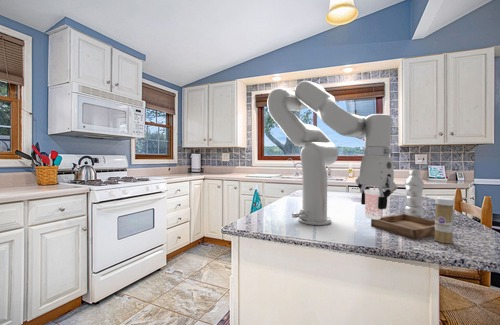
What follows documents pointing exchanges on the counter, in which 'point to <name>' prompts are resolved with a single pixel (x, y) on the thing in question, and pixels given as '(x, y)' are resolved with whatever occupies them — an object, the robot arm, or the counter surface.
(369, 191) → the beverage cup
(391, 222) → the walnut tray
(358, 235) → the counter surface
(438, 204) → the sprinkles bottle
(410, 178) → the plastic bottle
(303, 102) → the robot arm
